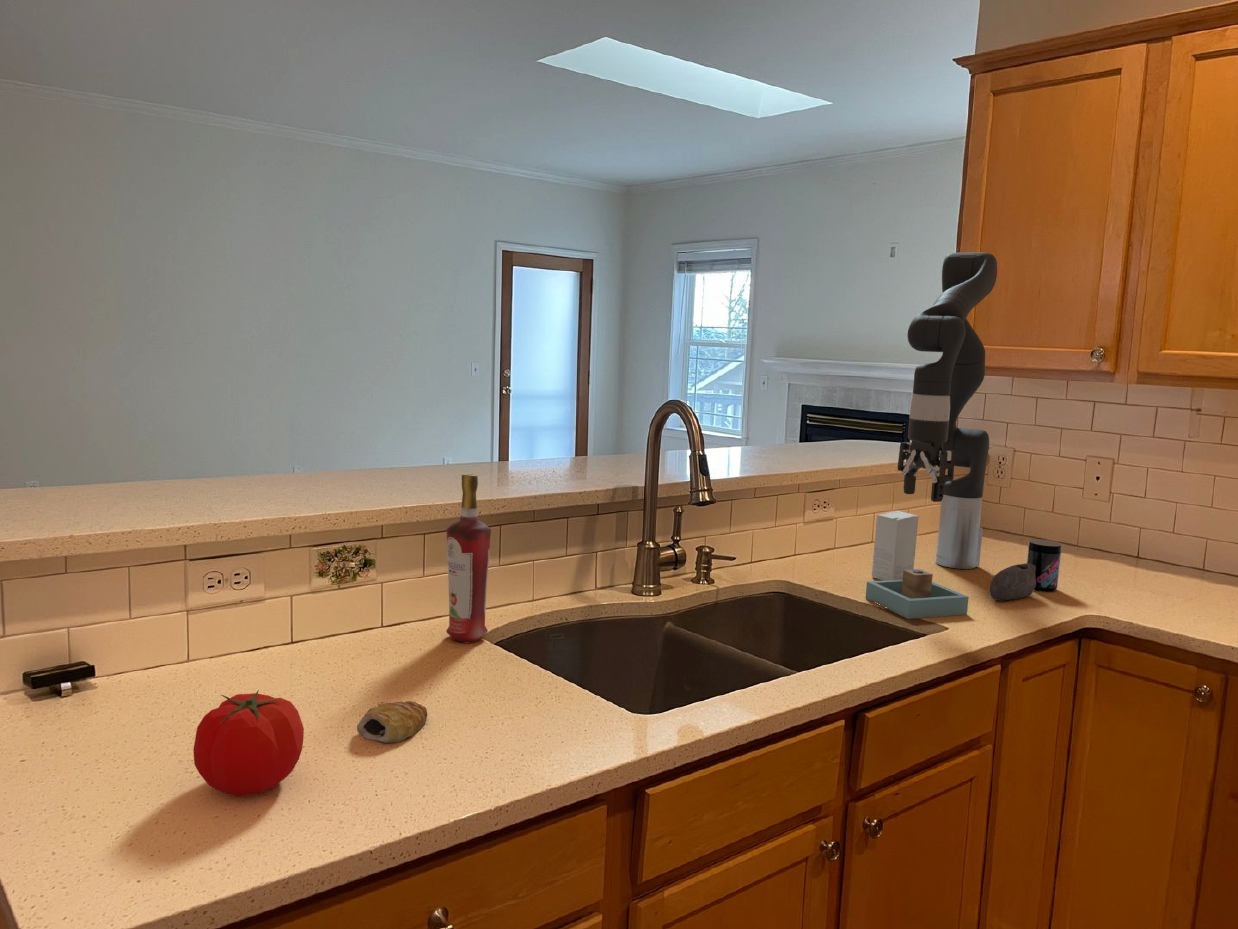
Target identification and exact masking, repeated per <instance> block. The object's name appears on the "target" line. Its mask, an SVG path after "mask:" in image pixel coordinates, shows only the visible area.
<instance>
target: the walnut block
mask: <svg viewBox="0 0 1238 929" xmlns="http://www.w3.org/2000/svg"><path fill="white" fill-rule="evenodd" d="M933 575H934V574H933V573H931V572H928V571H925V570H923V569H920V568H916V569H914V570H904V571H903V582H902V594H901V595H903V596H906V597H908V598H910V599H914V598H929V597H931V587H932V582H933Z"/></svg>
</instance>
